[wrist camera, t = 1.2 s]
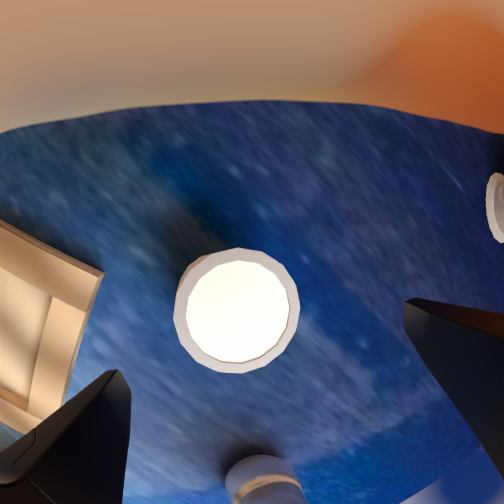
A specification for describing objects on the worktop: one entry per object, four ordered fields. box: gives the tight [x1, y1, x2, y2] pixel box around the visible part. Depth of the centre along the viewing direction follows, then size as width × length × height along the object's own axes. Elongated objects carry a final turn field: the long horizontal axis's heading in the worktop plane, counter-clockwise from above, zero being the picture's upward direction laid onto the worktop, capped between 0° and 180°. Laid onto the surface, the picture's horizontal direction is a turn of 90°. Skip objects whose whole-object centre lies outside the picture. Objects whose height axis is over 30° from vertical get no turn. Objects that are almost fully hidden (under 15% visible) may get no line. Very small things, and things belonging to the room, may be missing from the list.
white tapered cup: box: [173, 248, 300, 373], centre depth 20 cm, size 7×7×7 cm
